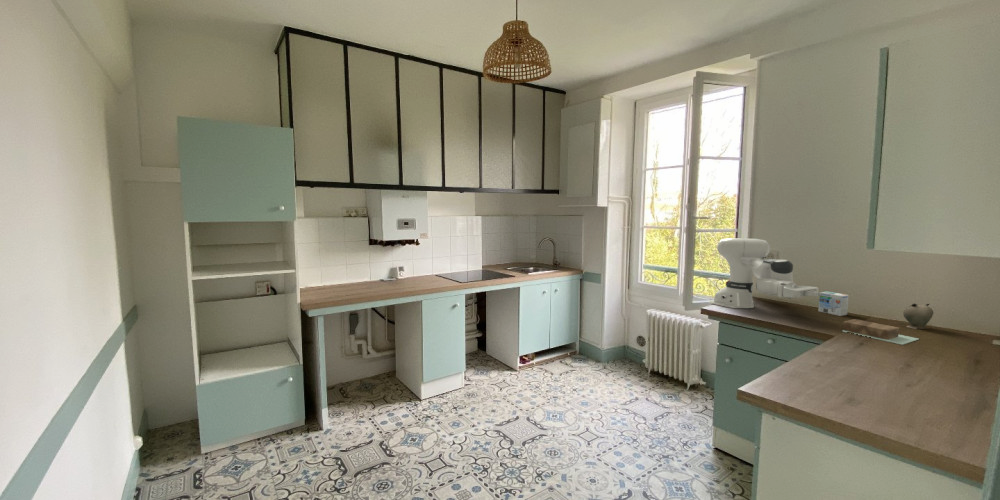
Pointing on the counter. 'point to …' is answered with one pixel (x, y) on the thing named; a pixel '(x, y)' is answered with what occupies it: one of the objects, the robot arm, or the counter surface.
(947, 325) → the counter surface
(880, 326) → the walnut domino
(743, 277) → the robot arm
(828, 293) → the light bulb box
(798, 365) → the counter surface
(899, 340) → the sage board
